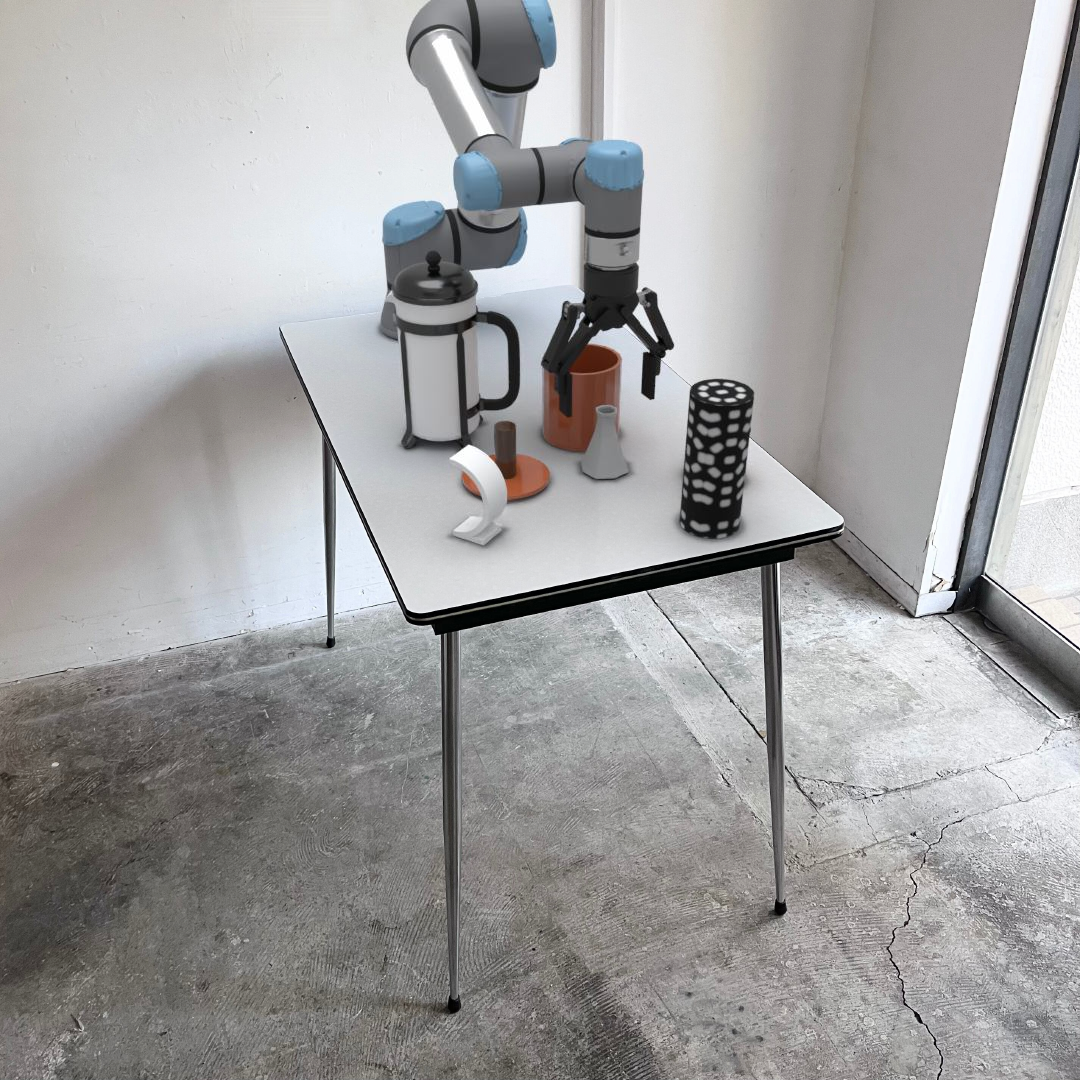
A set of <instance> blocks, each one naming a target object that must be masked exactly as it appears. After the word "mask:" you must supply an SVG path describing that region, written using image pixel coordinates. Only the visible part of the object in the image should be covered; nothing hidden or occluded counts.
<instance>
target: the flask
mask: <svg viewBox="0 0 1080 1080" xmlns="http://www.w3.org/2000/svg"><path fill="white" fill-rule="evenodd" d="M596 413H597V424H596V428H595V432H594V434H593V437H592V439H591V441H590V444H589V446H588V448H587V450H586V451H585V453H584V455H583V456H582V459H581V462H580V464H581V470H582V473H584V474H586V475H588V476H590V477H592V478H593V479H595V480H602V479H603V480H604V479H606V480H607V479H617V478H618V477H619V478H620V477H621V476H624V475H625V474H628V473H629V468H628V464H627V461H626V458H625V455H624V453H623V449H622V446H621V444H620V440H619V436H618V437H617V433H616V427H615V416H616V415H617V408H616V407H614V406H612V405H601V406H599V407H596Z"/></svg>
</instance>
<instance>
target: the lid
mask: <svg viewBox="0 0 1080 1080" xmlns="http://www.w3.org/2000/svg"><path fill="white" fill-rule="evenodd" d="M493 445H494V446H493V448H494V450H493V451H494V454H487V455H488V456H489V457H490V458H491V459H492V460H493V461H494V463H495V464H496V465H497V467H498V468H499V470H500V471H501V473H502V475H503V478H504V480H505V483H506V488H507V501H509V500H518V499H524V498H528V497H530V496H533V495H535V494H537V493H539V492H542V491H543V490H544V489H545V488H546V487H547V486H548V484H549V482H550V477H551V476H550V474H551V472H550V470H549V468H548V466H547V465H546V464H545V463H544V462H542V461H541V460H540V459H537V458H536V457H532V456H529V455H526V454H520V453H517V425H516V423H515V422H514V421H509V420H501V421H497V422H495V423H494V425H493ZM461 480H462V483H463V486H464V487H465V488H466V489H467V490H468V491H470V492H471V493H473V494H474V495H476V496H479V497H482V496H481V494H480V491H479V489H478V488H477V486H476V484H475V483H474V482H473V480H472V479H471V478H470V477H469V476H468V475H467V474H466V473H465V472H464V471H462V474H461Z"/></svg>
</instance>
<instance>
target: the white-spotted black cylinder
mask: <svg viewBox="0 0 1080 1080" xmlns="http://www.w3.org/2000/svg"><path fill="white" fill-rule="evenodd" d="M688 395H689V397H688V409H687V420H686V435H685V447H684V448H685V449H684V460H683V462H684V463H683V473H682V484H681V485H682V486H681V498H680V499H681V500H680V511H679V525H680V526H681V528H682V529H683V530H684V531H685V532H687V533H688V534H690V535H693V536H695V537H698V538H703V539H710V540H711V539H712V540H713V539H714V540H715V539H723V538H728V537H731V536H733V535H734V534H736V533H737V532H738V530H739V529H740V526H741V517H742V516H741V514H742V508H743V507H742V506H743V498H744V488H745V481H746V474H747V473H746V471H747V462H748V455H749V446H750V439H751V438H750V437H751V432H750V429H751V430H752V420H753V410H754V401H755V391H754V389H753V388H752V387H751V386H749V385H747V384H746V383H743V382H742V381H738V380H735V379H729V378H708V379H703V380H700V381H697V382H695V383H694V384H692V385H691V386H690V388H689V394H688Z"/></svg>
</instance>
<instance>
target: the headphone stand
mask: <svg viewBox="0 0 1080 1080" xmlns="http://www.w3.org/2000/svg"><path fill="white" fill-rule="evenodd" d="M488 455H489V454H487V453H486V452H484V451H483V450H481V449H480V448H478V447H475V446H474V445H473V446H471V445H468V446H466V447H465V448H463V449H461V450H459V451H458V452H457V453H455V454H454V455H452V456H451V457H449V458H448V459H449V465H450V466H453V467H455V468H457V469H459V470H461V471H462V472H463V471H464V472H465V473H466V474H467V475H468V476H469V477H470V478H471V479H472V480H473V482H474V483H475V484H476V486H477V488H478V489H479V491H480V494H481V496H480V497H481V499H482V504H483V513H482V514H483V515H482V516H475V515H471V516H469V517H468V518H467V519H466V520H464V521H463V522H462V523H460V525H457V527H456V528H454V529H453V531H452V533H453V534H452V535H453V537H457V538H459V539H463V540H465V541H469V542H472V543H473V544H474V543H475V544H478V545H481V546H485V545H486V544H488V543H489V542H490V541H491V540H492V539H493V538H494V537H496V536H497V535H498V534H499V533H501V532H502V530H503V525H502V524H500V523H496V522H494V521H496V520H497V519H498V518H499V517H500V516H501V515H502V514H503V512H504V511H505V509H506V507H507V503H508V500H507V488H506V483H505V480H504V478H503V475H502V473H501V471H500V470H499V468H498V467H497V465H496V464H495V463H494V461H493V460H492V459H491V458H490V457H489V456H488Z"/></svg>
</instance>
